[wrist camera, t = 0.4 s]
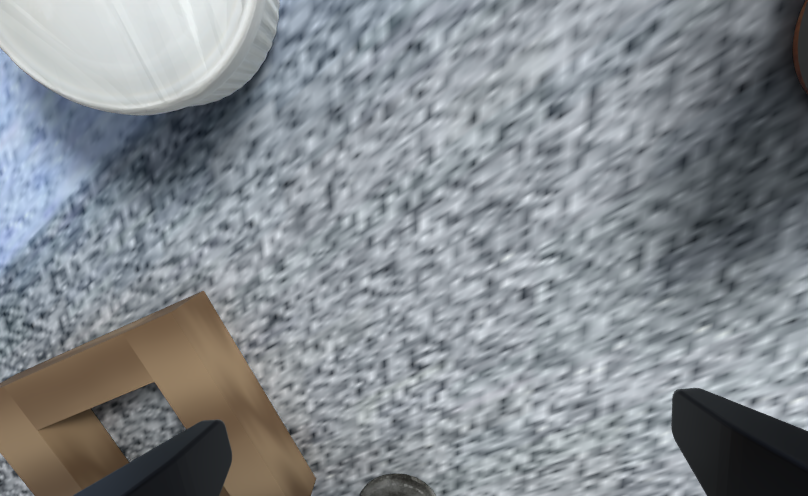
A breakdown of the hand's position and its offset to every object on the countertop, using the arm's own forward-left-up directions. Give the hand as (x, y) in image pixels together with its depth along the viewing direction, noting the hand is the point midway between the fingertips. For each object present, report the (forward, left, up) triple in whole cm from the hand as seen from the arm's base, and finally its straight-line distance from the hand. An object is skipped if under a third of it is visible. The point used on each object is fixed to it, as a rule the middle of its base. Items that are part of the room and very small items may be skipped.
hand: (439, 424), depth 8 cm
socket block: (-4, +20, -14) cm, 25 cm away
